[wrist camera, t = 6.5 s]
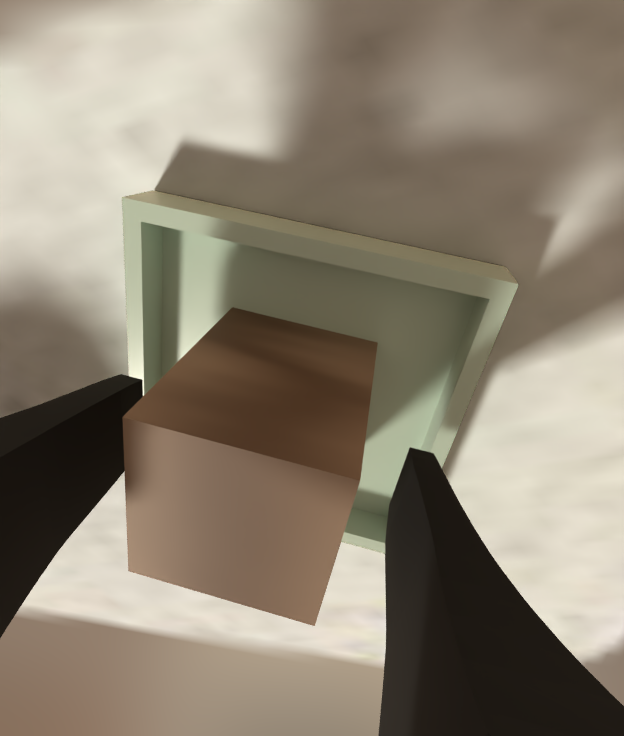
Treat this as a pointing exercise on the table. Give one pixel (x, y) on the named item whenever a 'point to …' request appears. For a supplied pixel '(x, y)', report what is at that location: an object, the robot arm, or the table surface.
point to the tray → (320, 317)
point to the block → (249, 462)
